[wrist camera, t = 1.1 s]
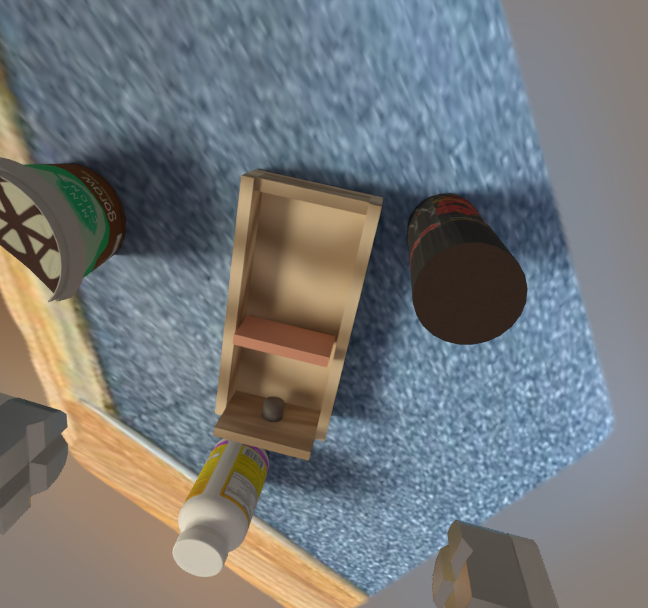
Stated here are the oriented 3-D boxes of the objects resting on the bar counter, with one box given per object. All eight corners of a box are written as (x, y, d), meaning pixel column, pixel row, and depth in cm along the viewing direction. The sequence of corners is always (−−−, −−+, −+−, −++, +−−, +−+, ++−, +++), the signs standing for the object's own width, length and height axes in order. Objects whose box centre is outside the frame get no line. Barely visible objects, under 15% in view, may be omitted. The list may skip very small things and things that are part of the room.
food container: (165, 228, 42) (100, 261, 33) (125, 266, 44) (54, 307, 35) (64, 117, 39) (-37, 119, 30) (27, 163, 41) (-78, 178, 32)
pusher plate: (248, 315, 42) (233, 334, 39) (335, 336, 42) (329, 357, 38) (246, 324, 43) (232, 344, 39) (333, 345, 42) (327, 367, 39)
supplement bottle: (215, 474, 53) (163, 577, 41) (213, 428, 50) (156, 525, 39) (271, 483, 52) (234, 591, 40) (271, 437, 49) (232, 538, 38)
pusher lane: (256, 169, 38) (228, 180, 32) (383, 197, 38) (380, 215, 31) (229, 390, 48) (203, 433, 41) (330, 415, 47) (319, 463, 41)
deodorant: (393, 236, 39) (390, 305, 25) (438, 178, 36) (462, 219, 23) (447, 276, 39) (474, 363, 26) (495, 221, 37) (552, 286, 23)
